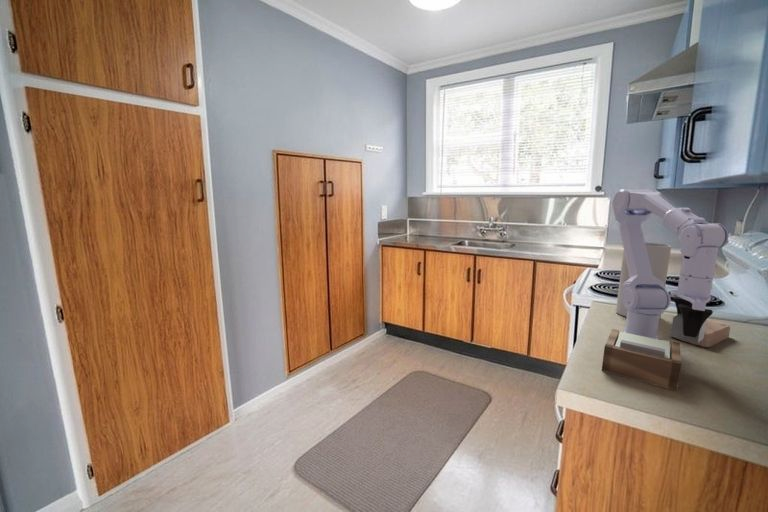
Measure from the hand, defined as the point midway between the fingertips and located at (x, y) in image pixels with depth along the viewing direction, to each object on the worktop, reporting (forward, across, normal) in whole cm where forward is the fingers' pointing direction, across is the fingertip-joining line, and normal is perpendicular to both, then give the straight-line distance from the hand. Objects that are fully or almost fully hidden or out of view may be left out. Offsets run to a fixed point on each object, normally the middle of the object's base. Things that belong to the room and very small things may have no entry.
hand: (686, 331), depth 81 cm
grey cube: (+2, 0, 0) cm, 2 cm away
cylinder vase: (+9, -40, -6) cm, 41 cm away
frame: (+9, +7, -9) cm, 14 cm away
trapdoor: (+4, +6, -9) cm, 11 cm away
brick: (+9, -26, +8) cm, 29 cm away
